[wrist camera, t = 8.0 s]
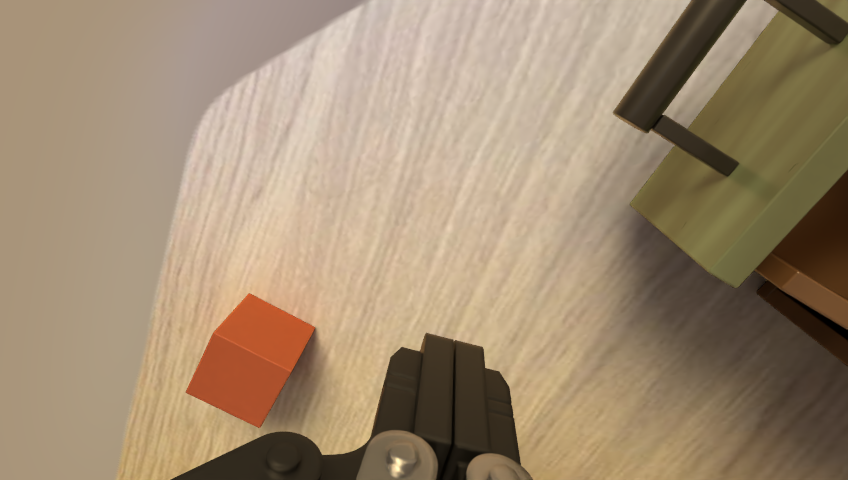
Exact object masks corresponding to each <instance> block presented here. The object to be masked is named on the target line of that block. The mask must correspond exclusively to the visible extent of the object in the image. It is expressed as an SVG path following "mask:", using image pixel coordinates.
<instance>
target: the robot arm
mask: <svg viewBox="0 0 848 480" xmlns="http://www.w3.org/2000/svg"><path fill="white" fill-rule="evenodd" d="M171 480H533V479H532V477H531V476H530V474H529V473H528V472H527V471H526V470H525V469H524V468H523V467H522V466H521V463H520V456H519V450H518V443H517V436H516V429H515V423H514V418H513V409H512V405H511V396H510V389H509V386H508V384H507V383H506V381H505V380H504V378H503V377H502V375H501V374H500V372H499V371H495V370H491V369H487V368H485V361H484V349H483V347H480V346H476V345H472V344H468V343H465V342H461V341H457V340H455V341H454V340H452V339H448V338H444V337H440V336H437V335H433V334H429V333H426V334H425V336H424V339H423V343H422V346H421V350H420V352H419V351H415V350H411V349H407V348H403V347H401V348H400V349H399V350H398V351H397V352H396V353H395V354H394V355H393V356H392V357H391V358H390V362H389V366H388V370H387V373H386V377H385V381H384V385H383V389H382V392H381V396H380V400H379V404H378V408H377V412H376V416H375V421H374V425H373V429H372V433H371V437H370V439H369V440H368V442H367V443H366V444H365V445H363V446H362V447H361V448H359V449H357V450H355V451H352V452H349V453H345V454H337V455H322V454H321V452H320V450H319V448H318V447H317V446H316V444H315V443H314V442H312V441H311V440H310V439H308V438H307V437H305V436H303V435H300V434H297V433H293V432H274V433H270V434H266V435H264V436H261V437H259V438H257V439H255V440H253V441H251V442H249V443H247V444H245V445H242V446H240V447H238V448H236V449H234V450H232V451H230V452H228V453H226V454H224V455H221V456H219V457H217V458H215V459H213V460H211V461H209V462H207V463H205V464H202V465H200V466H198V467H196V468H194V469H192V470H190V471H188V472H186V473H184V474H181V475H179V476H177V477H175V478H173V479H171Z"/></svg>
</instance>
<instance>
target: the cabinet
mask: <svg viewBox="0 0 848 480" xmlns="http://www.w3.org/2000/svg"><path fill="white" fill-rule="evenodd" d="M757 294H758V295H759V296H760V297H761V298H763V299H764V300H765V301H766V302H768V303H769V304H770V305H771V306H773V307H774V308H775V309H776V310H778V311H779V312H780V313H781V314H783V315H784V316H785V317H786V318H788V319H789V320H790V321H791V322H793V323H794V324H795V325H796V326H798V327H799V328H800V329H802V330H803V331H804V332H805V333H807V334H808V335H809V336H810V337H812V338H813V339H814V340H815V341H817V342H818V343H819V344H820V345H822V346H823V347H824V348H825V349H827V350H828V351H829V352H830V353H832V354H833V355H834V356H836V357H837V358H838V359H839V360H841V361H842V362H843V363H844V364H846V365H847V366H848V330H847V329H845V328H844V327H842V326H840V325H839V324H837V323H835V322H834V321H832V320H830V319H829V318H827V317H825V316H824V315H822V314H820V313H819V312H817V311H815V310H814V309H812V308H810V307H809V306H807V305H805V304H804V303H802V302H800V301H799V300H797V299H795V298H794V297H792V296H790V295H789V294H787V293H785V292H784V291H782V290H781V289H779V288H778V287H776V286H775V285H774V284H772V283H771V282H770V281H767V282H766V283H765V284H764V285H763V286H762V287H761V288H760V289H759V290H758V291H757Z"/></svg>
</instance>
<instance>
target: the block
mask: <svg viewBox="0 0 848 480" xmlns="http://www.w3.org/2000/svg"><path fill="white" fill-rule="evenodd" d="M314 330H315V327H313V326H312V325H310V324H308V323H306V322H304V321H302V320H300V319H298V318H296V317H294V316H292V315H290V314H288V313H286V312H284V311H283V310H281V309H279V308H277V307H275V306H273V305H271V304H269V303H267V302H265V301H263V300H261V299H259V298H257V297H255V296H254V295H252V294H248V295H247V296H246V297H245V298H244V299H243V300H242V302H241V303H240V304H239V305H238V306H237V307H236V308H235V309H234V310H233V312H232V313H231V314H230V315H229V316H228V317H227V318H226V319H225V320H224V321H223V323H222V324H221V325H220V326H219V327H218V328H217V329H216V330H215V331H214V333H213V334H212V337H211V339H210V341H209V343H208V345H207V347H206V350H205V352H204V354H203V356H202V358H201V360H200V362H199V365H198V367H197V369H196V371H195V373H194V375H193V377H192V380H191V382H190V384H189V386H188V388H187V390H186V393H188V394H190V395H192V396H194V397H196V398H198V399H200V400H202V401H204V402H206V403H208V404H210V405H213V406H215V407H217V408H219V409H221V410H223V411H225V412H227V413H229V414H231V415H233V416H235V417H237V418H239V419H242V420H244V421H246V422H248V423H250V424H252V425H254V426H256V427H258V428H260V427H261V426H262V424H263V422H264V420H265V418H266V417H267V415H268V413H269V411H270V410H271V408H272V406H273V404H274V402H275V401H276V399H277V397H278V395H279V394H280V392H281V390H282V388H283V386H284V385H285V383H286V381H287V379H288V378H289V376H290V374H291V372H292V370H293V369H294V367H295V365H296V363H297V361H298V359H299V357H300V356H301V354H302V352H303V350H304V348H305V346H306V345H307V343H308V341H309V339H310V337H311V335H312V333H313V332H314Z"/></svg>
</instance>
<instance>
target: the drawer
mask: <svg viewBox="0 0 848 480" xmlns="http://www.w3.org/2000/svg"><path fill="white" fill-rule="evenodd" d="M746 1H747V0H691V2H690V3H689V4H688V6H687V7H686V9H685V10H684V12H683V13H682V14H681V16H680V17H679V19H678V20H677V22H676V23H675V24H674V26H673V27H672V29H671V30H670V32H669V33H668V34H667V36H666V37H665V39H664V40H663V42H662V43H661V44H660V46H659V47H658V49H657V50H656V51H655V53H654V54H653V56H652V57H651V59H650V60H649V61H648V63H647V64H646V66H645V67H644V69H643V70H642V71H641V73H640V74H639V76H638V77H637V79H636V80H635V81H634V83H633V84H632V86H631V87H630V89H629V90H628V91H627V93H626V94H625V96H624V97H623V99H622V100H621V101H620V103H619V104H618V106H617V107H616V108H615V110H614V111H613V114H614V115H615V116H616V117H618V118H619V119H621V120H622V121H624V122H626V123H627V124H629V125H631V126H632V127H634V128H636V129H638V130H640V131H642V132H644V133H649V131H650V130H651V131H653V132H655V133H656V134H658V135H659V136H661V137H663V138H664V139H666V140H667V141H669V142H671V143H672V144H674V145H675V146H674V147H673V149H672V150H671V151H670V152H669V154H668V155H667V156H666V158H665V159H664V160H663V162H662V163H661V164H660V165H659V167H658V168H657V169H656V171H655V172H654V173H653V174H652V176H651V177H650V178H649V180H648V181H647V182H646V184H645V185H644V186H643V187H642V189H641V190H640V191H639V193H638V194H637V195H636V197H635V198H634V199H633V200H632V202H631V203H630V205H631V206H632V207H633V208H634V209H635V210H636V211H638V212H639V213H640V214H641V215H642V216H643V217H644V218H646V219H647V220H648V221H649V222H650V223H651V224H653V225H654V226H655V227H656V228H657V229H658V230H660V231H661V232H662V233H663V234H664V235H665V236H666V237H668V238H669V239H670V240H671V241H672V242H673V243H675V244H676V245H677V246H678V247H679V248H680V249H682V250H683V251H684V252H685V253H686V254H687V255H688V256H690V257H691V258H692V259H693V260H694V261H695V262H697V263H698V264H699V265H700V266H701V267H702V268H704V269H705V270H706V271H707V272H708V273H710V274H711V275H713V276H715V277H716V278H718V279H720V280H721V281H723V282H725V283H726V284H728V285H730V286H732V287H733V288H738V287H739V286H740V285H741V284H742V283H743V282H744V281H745V280H746V279H747V277H748V276H749V275H750V274H751V273H752V272H753V271H756V272H757V273H758V274H760V275H761V276H763V277H764V278H765V279H767V280H768V281H770V282H771V283H772V284H774V285H775V286H776V287H778V288H779V289H781V290H782V291H784V292H785V293H787V294H789V295H790V296H792V297H794V298H795V299H797V300H799V301H800V302H802V303H804V304H805V305H807V306H809V307H810V308H812V309H814V310H815V311H817V312H819V313H820V314H822V315H824V316H825V317H827V318H829V319H830V320H832V321H834V322H835V323H837V324H839V325H840V326H842V327H844V328H845V329H847V330H848V0H764V1H766V2H767V3H769V4H770V5H771V6H773V7H774V8H776V9H777V10H779V11H778V12H777V14H776V15H775V16H774V18H773V19H772V20H771V22H770V23H769V24H768V25H767V27H766V28H765V29H764V31H763V32H762V33H761V35H760V36H759V37H758V38H757V40H756V41H755V42H754V44H753V45H752V46H751V47H750V49H749V50H748V51H747V53H746V54H745V55H744V57H743V58H742V59H741V60H740V62H739V63H738V64H737V66H736V67H735V68H734V70H733V71H732V72H731V73H730V75H729V76H728V77H727V79H726V80H725V81H724V82H723V84H722V85H721V86H720V88H719V89H718V90H717V92H716V93H715V94H714V95H713V97H712V98H711V99H710V101H709V102H708V103H707V105H706V106H705V107H704V108H703V110H702V111H701V112H700V114H699V115H698V116H697V117H696V119H695V120H694V121H693V123H692V124H691V125H690V127H689V128H688V129H686V128H684V127H683V126H681V125H680V124H678V123H677V122H675V121H673V120H672V119H670V118H669V117H667V116H666V115H662V114H663V112H664V111H665V110H666V108H667V107H668V106H669V104H670V103H671V102H672V100H673V99H674V98H675V96H676V95H677V94H678V92H679V91H680V90H681V88H682V87H683V85H684V84H685V83H686V81H687V80H688V79H689V77H690V76H691V75H692V73H693V72H694V71H695V69H696V68H697V67H698V65H699V64H700V63H701V61H702V60H703V59H704V57H705V56H706V54H707V53H708V52H709V50H710V49H711V48H712V46H713V45H714V44H715V42H716V41H717V40H718V38H719V37H720V36H721V34H722V33H723V32H724V30H725V29H726V28H727V26H728V25H729V24H730V22H731V21H732V19H733V18H734V17H735V15H736V14H737V13H738V11H739V10H740V9H741V7H742V6H743V5H744V3H745V2H746Z"/></svg>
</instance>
